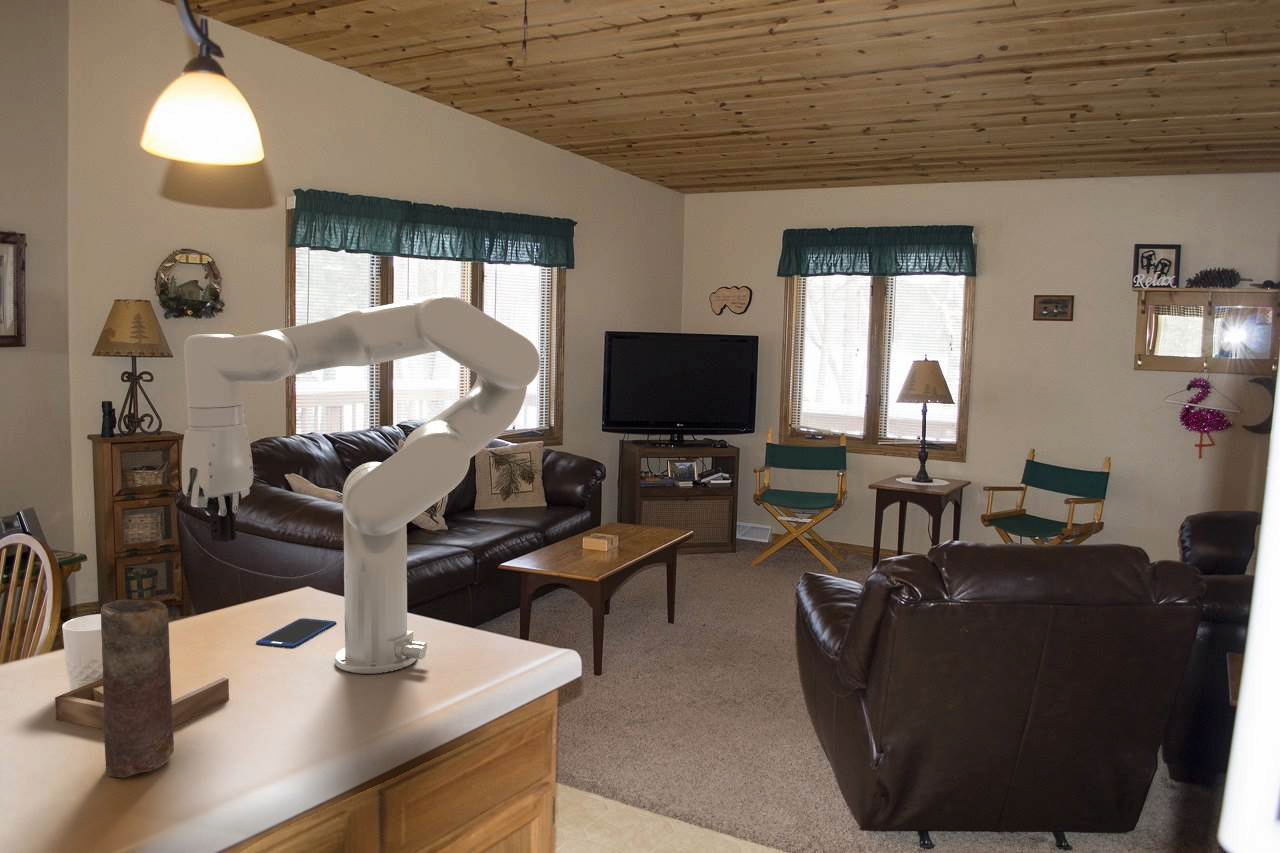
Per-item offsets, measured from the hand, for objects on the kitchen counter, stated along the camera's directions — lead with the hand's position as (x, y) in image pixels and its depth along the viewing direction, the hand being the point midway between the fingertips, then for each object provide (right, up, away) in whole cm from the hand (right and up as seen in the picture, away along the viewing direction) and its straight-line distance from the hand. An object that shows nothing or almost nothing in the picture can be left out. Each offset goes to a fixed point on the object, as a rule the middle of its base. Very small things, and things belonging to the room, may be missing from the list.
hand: (223, 539), depth 144 cm
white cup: (-16, -21, -5) cm, 27 cm away
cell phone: (+3, -19, +21) cm, 29 cm away
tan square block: (-9, -22, -11) cm, 26 cm away
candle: (+2, -24, -28) cm, 37 cm away
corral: (-6, -22, -11) cm, 25 cm away
